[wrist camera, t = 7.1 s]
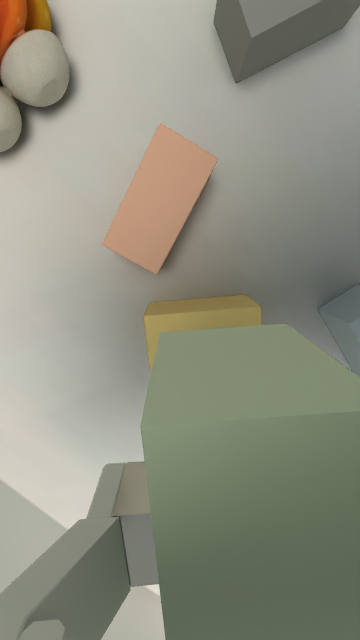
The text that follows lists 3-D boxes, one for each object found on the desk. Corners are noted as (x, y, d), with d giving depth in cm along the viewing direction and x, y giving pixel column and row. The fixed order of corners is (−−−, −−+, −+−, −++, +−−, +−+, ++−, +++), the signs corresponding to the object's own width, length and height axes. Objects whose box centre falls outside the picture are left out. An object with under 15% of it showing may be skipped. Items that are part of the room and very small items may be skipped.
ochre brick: (245, 294, 23) (261, 306, 18) (246, 339, 23) (262, 361, 19) (150, 301, 23) (143, 316, 18) (155, 346, 24) (149, 370, 19)
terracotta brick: (163, 148, 20) (160, 122, 16) (209, 176, 21) (218, 158, 16) (117, 244, 22) (101, 244, 17) (160, 268, 22) (156, 274, 18)
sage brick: (159, 332, 8) (140, 426, 4) (286, 323, 8) (401, 407, 4) (178, 535, 10) (178, 754, 6) (284, 528, 10) (365, 743, 6)
